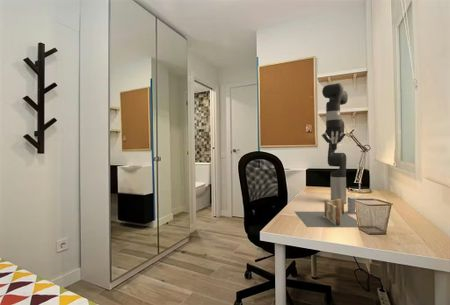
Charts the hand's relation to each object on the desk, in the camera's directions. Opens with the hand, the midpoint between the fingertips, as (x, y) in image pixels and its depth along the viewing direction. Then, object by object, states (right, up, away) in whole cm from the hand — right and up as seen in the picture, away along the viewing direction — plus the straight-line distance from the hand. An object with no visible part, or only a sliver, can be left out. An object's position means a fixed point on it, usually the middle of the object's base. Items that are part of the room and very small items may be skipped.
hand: (333, 150), depth 125 cm
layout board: (-9, -35, -12) cm, 38 cm away
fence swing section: (-9, -34, -17) cm, 39 cm away
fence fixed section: (-3, -35, -7) cm, 35 cm away
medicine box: (+11, -35, -3) cm, 37 cm away
